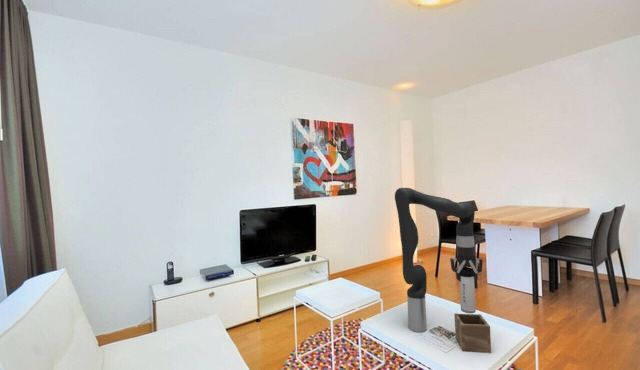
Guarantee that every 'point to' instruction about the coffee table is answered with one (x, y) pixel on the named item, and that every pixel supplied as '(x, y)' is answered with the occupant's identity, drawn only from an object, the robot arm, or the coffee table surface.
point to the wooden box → (472, 333)
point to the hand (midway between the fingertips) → (466, 280)
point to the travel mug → (467, 290)
